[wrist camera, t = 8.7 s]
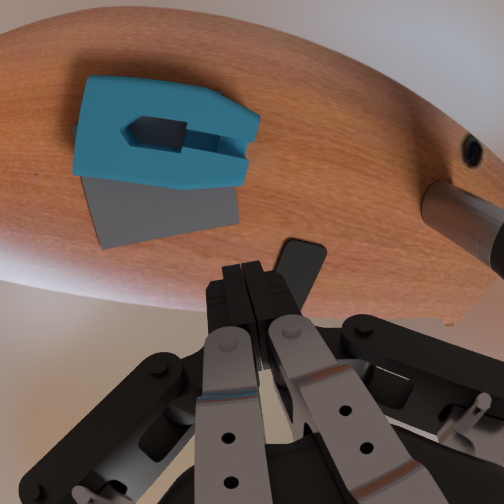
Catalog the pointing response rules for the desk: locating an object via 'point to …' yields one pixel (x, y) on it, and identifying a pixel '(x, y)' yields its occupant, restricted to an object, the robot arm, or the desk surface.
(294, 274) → the phone
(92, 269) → the desk surface
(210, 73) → the desk surface
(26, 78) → the desk surface
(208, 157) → the block
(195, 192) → the mat
